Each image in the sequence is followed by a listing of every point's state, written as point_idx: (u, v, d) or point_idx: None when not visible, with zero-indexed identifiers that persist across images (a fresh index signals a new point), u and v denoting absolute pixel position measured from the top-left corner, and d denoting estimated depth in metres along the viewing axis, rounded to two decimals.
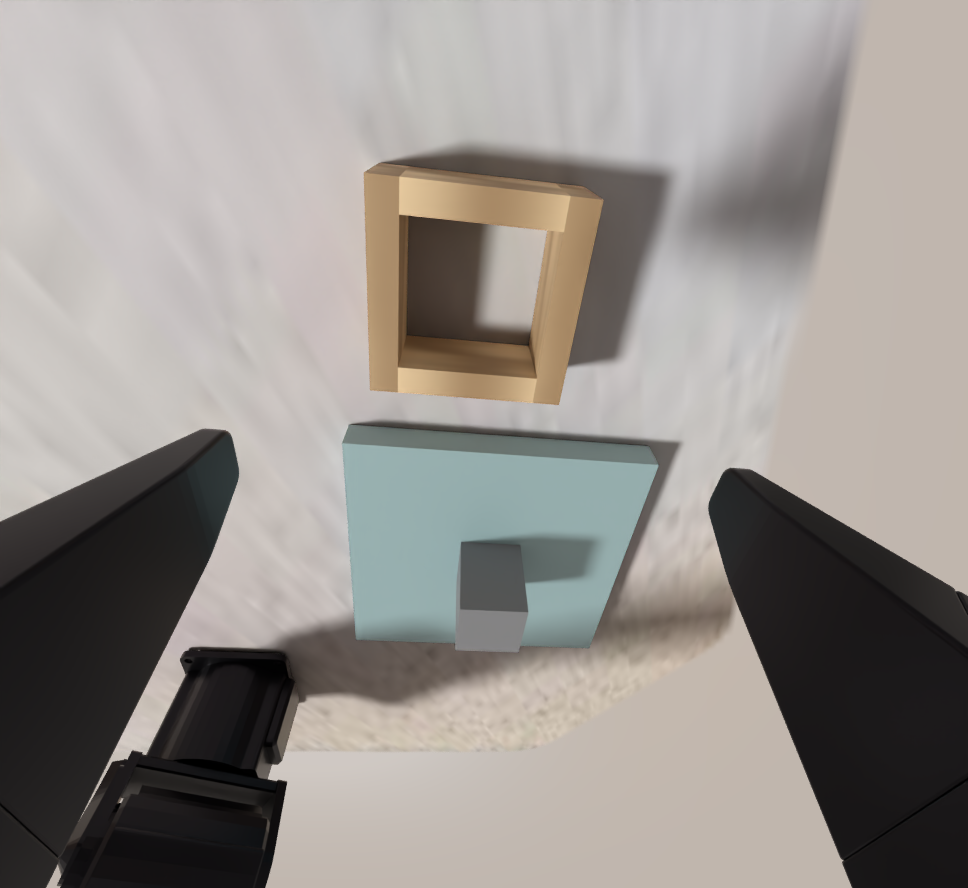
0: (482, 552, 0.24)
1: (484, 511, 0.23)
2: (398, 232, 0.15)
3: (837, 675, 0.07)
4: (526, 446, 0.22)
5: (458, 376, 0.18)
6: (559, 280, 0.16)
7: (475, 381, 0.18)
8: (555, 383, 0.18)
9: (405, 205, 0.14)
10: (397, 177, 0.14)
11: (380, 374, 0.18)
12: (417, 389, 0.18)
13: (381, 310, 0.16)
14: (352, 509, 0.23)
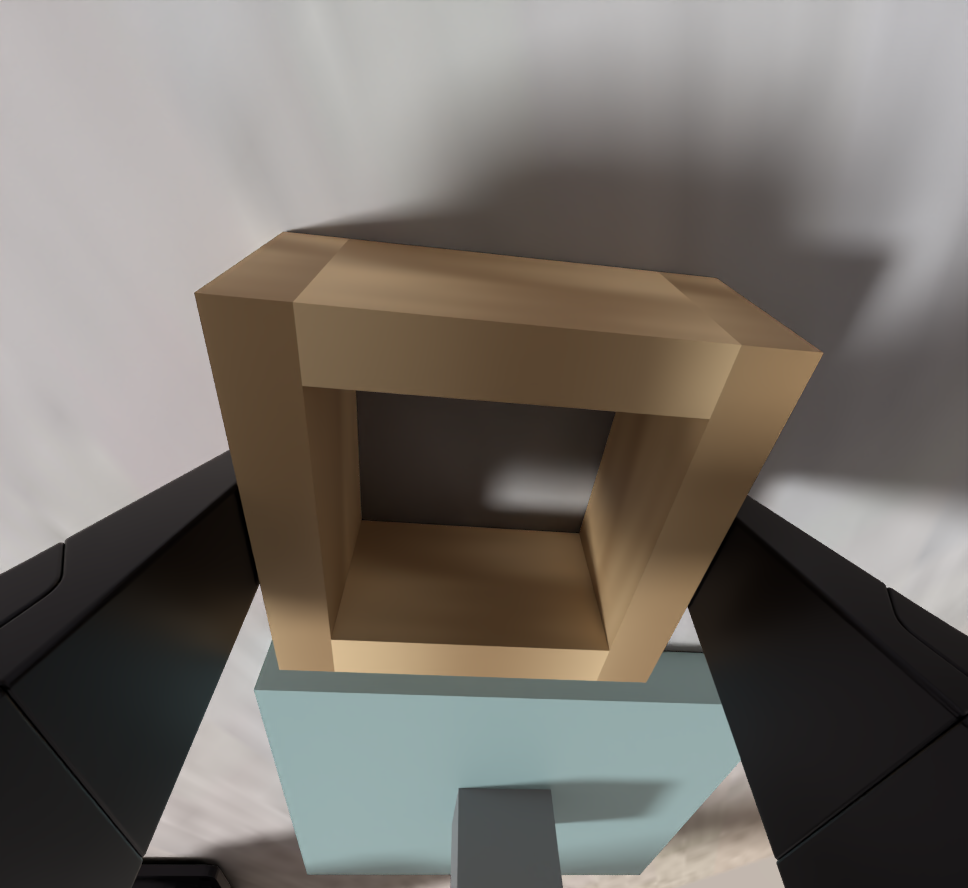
0: (492, 812, 0.15)
1: (496, 758, 0.15)
2: (306, 420, 0.06)
3: (772, 673, 0.07)
4: None
5: (454, 649, 0.09)
6: (681, 506, 0.07)
7: (487, 655, 0.09)
8: (645, 656, 0.09)
9: (316, 365, 0.06)
10: (287, 304, 0.05)
11: (295, 648, 0.09)
12: (373, 666, 0.09)
13: (284, 558, 0.07)
14: (283, 759, 0.14)
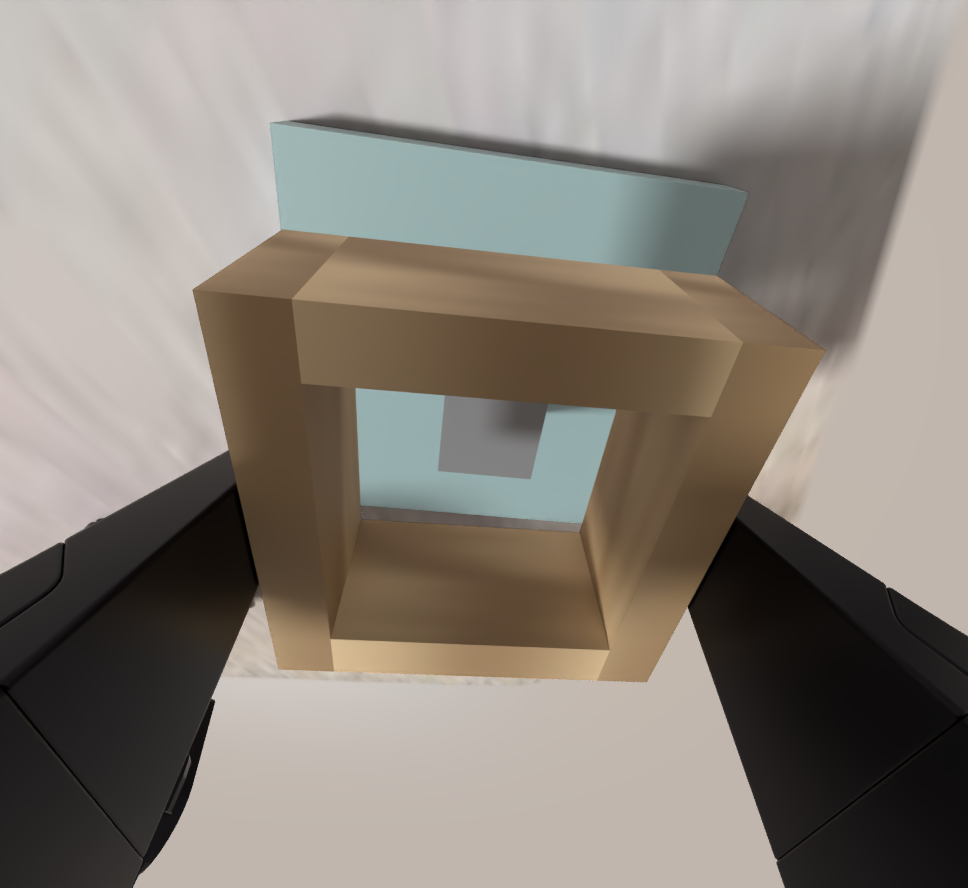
0: None
1: None
2: (305, 418, 0.06)
3: (772, 673, 0.07)
4: (551, 161, 0.15)
5: (453, 649, 0.09)
6: (682, 505, 0.07)
7: (487, 655, 0.09)
8: (645, 656, 0.09)
9: (316, 363, 0.06)
10: (286, 301, 0.05)
11: (294, 648, 0.09)
12: (372, 666, 0.09)
13: (283, 557, 0.07)
14: None
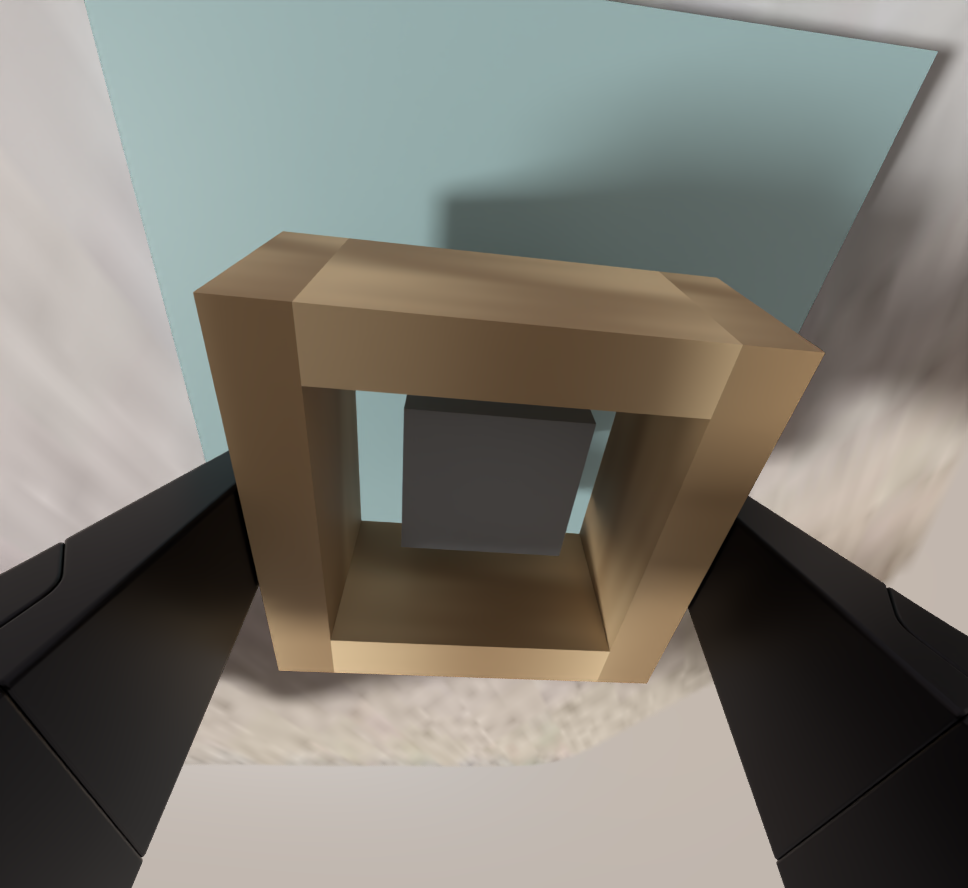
0: None
1: (477, 217, 0.10)
2: (305, 420, 0.06)
3: (772, 673, 0.07)
4: None
5: (453, 650, 0.09)
6: (683, 507, 0.07)
7: (487, 655, 0.09)
8: (645, 657, 0.09)
9: (316, 366, 0.06)
10: (287, 304, 0.05)
11: (294, 649, 0.09)
12: (372, 667, 0.09)
13: (282, 559, 0.07)
14: (150, 200, 0.09)
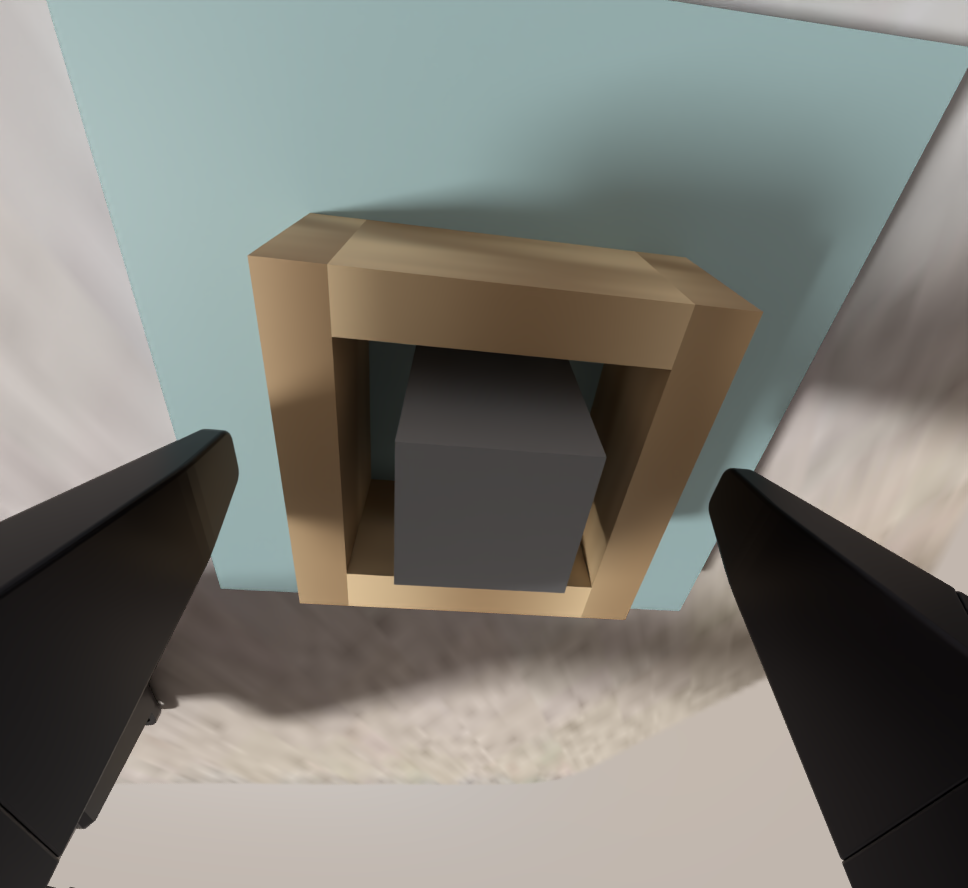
0: None
1: (476, 227, 0.09)
2: (333, 367, 0.07)
3: (837, 675, 0.07)
4: None
5: None
6: (650, 449, 0.08)
7: (483, 590, 0.10)
8: (623, 593, 0.10)
9: (344, 319, 0.07)
10: (323, 266, 0.06)
11: (314, 582, 0.10)
12: (382, 601, 0.10)
13: (308, 494, 0.09)
14: (123, 209, 0.09)
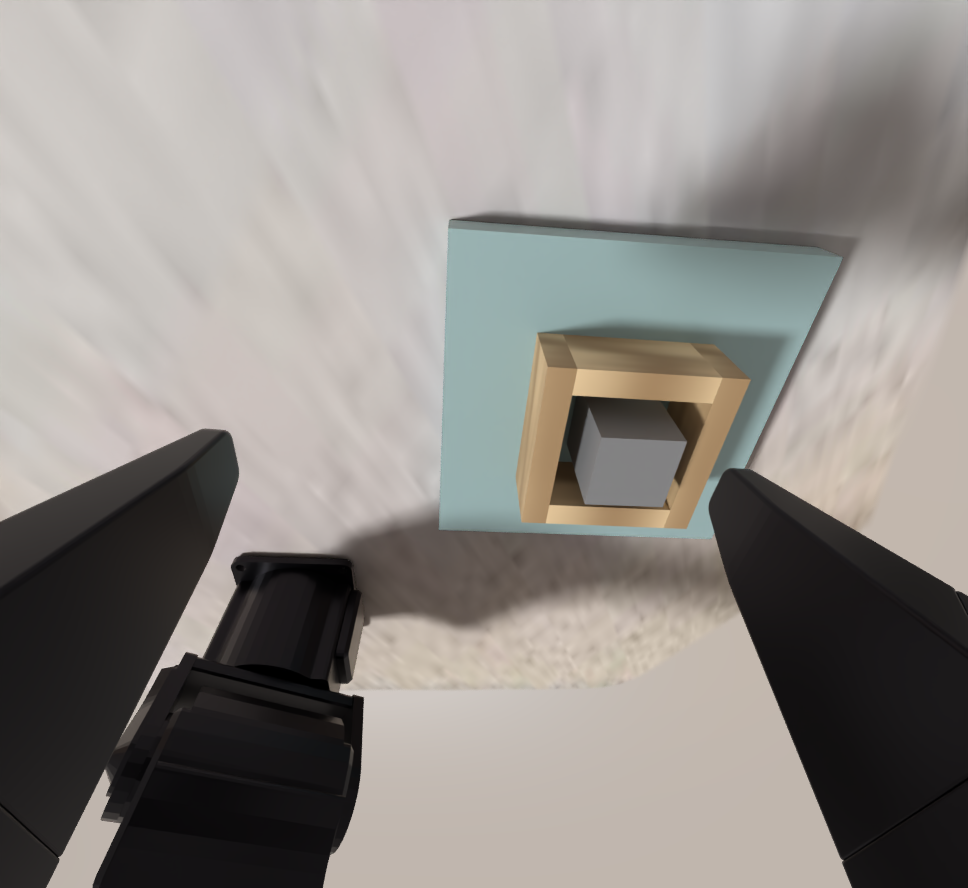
0: None
1: (613, 335, 0.19)
2: (568, 407, 0.17)
3: (837, 675, 0.07)
4: (672, 240, 0.18)
5: (601, 510, 0.20)
6: (702, 438, 0.18)
7: (615, 513, 0.20)
8: (686, 513, 0.20)
9: (578, 388, 0.17)
10: (576, 369, 0.16)
11: (532, 510, 0.20)
12: (563, 520, 0.20)
13: (542, 464, 0.18)
14: (451, 334, 0.19)
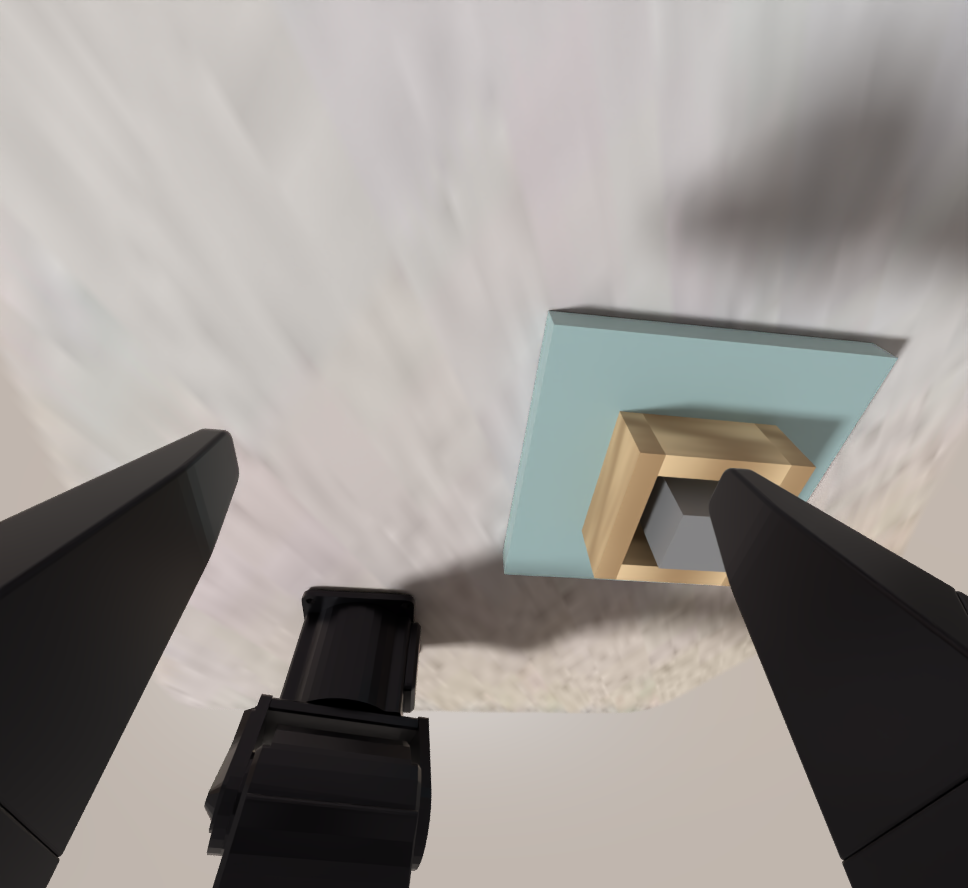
0: None
1: (687, 415, 0.21)
2: (652, 485, 0.19)
3: (837, 675, 0.07)
4: (747, 336, 0.20)
5: (667, 569, 0.22)
6: None
7: (679, 572, 0.22)
8: None
9: (664, 470, 0.19)
10: (664, 455, 0.18)
11: (606, 568, 0.22)
12: (632, 577, 0.22)
13: (621, 530, 0.20)
14: (543, 410, 0.21)
